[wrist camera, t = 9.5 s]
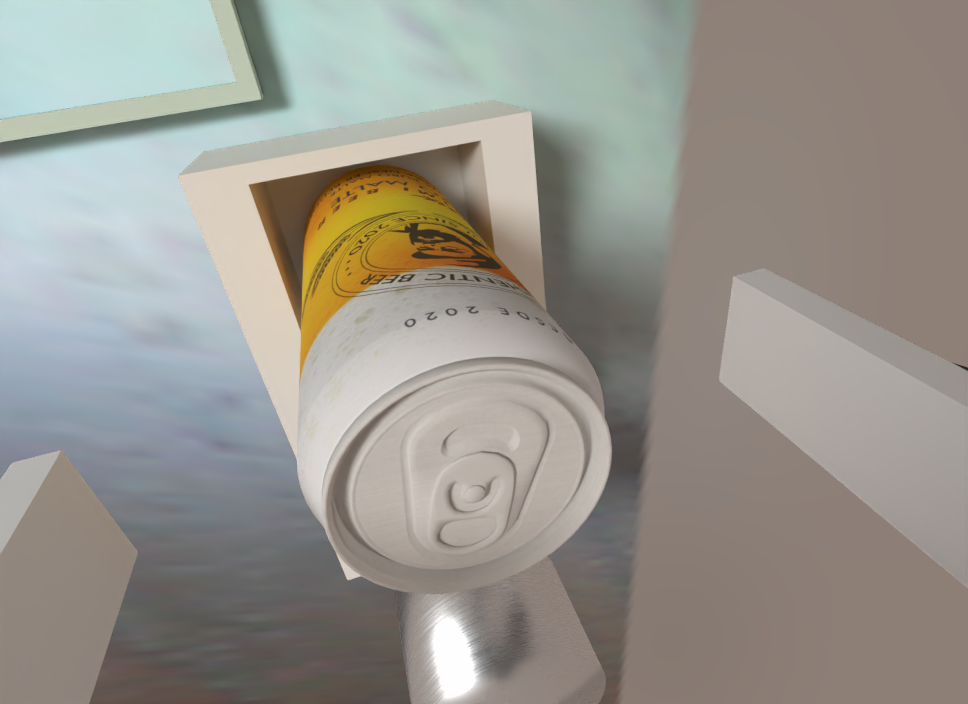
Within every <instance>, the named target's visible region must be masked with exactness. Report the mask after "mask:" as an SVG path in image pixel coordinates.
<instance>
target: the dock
mask: <svg viewBox="0 0 968 704" xmlns="http://www.w3.org/2000/svg"><path fill="white" fill-rule="evenodd" d="M374 165H389V166H395V167H400V168H404V169H407V170H409V171H412V172H414V173H416V174H418V175H420V176H422V177H424V178H425V179H426V180H428V181H429V182H431V183H432V184H433V185H434V186H435V187H436V188H437V189H438V190H439V191H440V192H441V193H442V194H443V196H444V197H445V198H446V199H447V200H448V201H449V202H450V203H451V205H452V206H453V207H454V208H455V209H456V210H457V211H458V212H459V214H460V215H461V216H462V217H463V218H464V219H465V220H466V221H467V223H468V224H469V225H470V226H471V227H472V228H473V229H474V230H475V232H476V233H477V234H478V235H479V236H480V237H481V238H482V239H483V241H484V242H485V243H486V244H487V245H488V246H489V247H490V248H491V250H492V251H493V252H494V253H495V254H496V255H497V256H498V257H499V259H500V260H501V261H502V262H503V263H504V264H505V265H506V266H507V268H508V269H509V270H510V271H511V272H512V273H513V274H514V275H515V277H516V278H517V279H518V280H519V281H520V282H521V283H522V284H523V286H524V287H525V288H526V289H527V290H528V291H529V292H530V293H531V295H532V296H533V297H534V298H535V299H536V300H537V301H538V302H539V304H540V305H541V306H542V307H543V308H544V309H545V310H546V300H545V287H544V273H543V260H542V247H541V234H540V221H539V207H538V194H537V181H536V168H535V154H534V141H533V128H532V115H531V111H529V110H525V109H522V108H518V107H514V106H511V105H507V104H503V103H500V102H496V101H486V102H480V103H475V104H469V105H463V106H458V107H452V108H446V109H441V110H435V111H429V112H424V113H418V114H413V115H407V116H401V117H396V118H390V119H384V120H379V121H373V122H367V123H362V124H356V125H350V126H345V127H339V128H333V129H328V130H322V131H317V132H311V133H305V134H300V135H294V136H288V137H283V138H277V139H271V140H266V141H260V142H254V143H249V144H243V145H237V146H232V147H226V148H221V149H215V150H209V151H204V152H203V153H202V154H200V155H199V156H198V157H197V158H196V159H195V160H194V161H193V162H192V163H191V164H190V165H189V166H188V167H187V168H185V169H184V170H183V171H182V172H181V173H180V174H179V175H178V178H179V180H180V183H181V185H182V188H183V190H184V192H185V195H186V197H187V199H188V202H189V204H190V207H191V209H192V211H193V214H194V216H195V218H196V221H197V223H198V226H199V228H200V230H201V233H202V235H203V237H204V240H205V242H206V245H207V247H208V249H209V252H210V254H211V257H212V259H213V261H214V264H215V266H216V268H217V271H218V273H219V276H220V278H221V280H222V283H223V285H224V287H225V290H226V292H227V295H228V297H229V299H230V302H231V304H232V306H233V309H234V311H235V314H236V316H237V318H238V321H239V323H240V325H241V328H242V330H243V333H244V335H245V337H246V340H247V342H248V345H249V347H250V349H251V352H252V354H253V356H254V359H255V361H256V364H257V366H258V368H259V371H260V373H261V375H262V378H263V380H264V383H265V385H266V387H267V390H268V392H269V394H270V397H271V399H272V402H273V404H274V406H275V409H276V411H277V413H278V416H279V418H280V421H281V423H282V425H283V428H284V430H285V433H286V435H287V437H288V440H289V442H290V444H291V447H292V449H293V452H294V454H295V456H296V459H297V443H298V411H299V379H300V347H301V315H302V283H303V251H304V231H305V225H306V220H307V217H308V214H309V212H310V209H311V207H312V205H313V203H314V202H315V200H316V199H317V197H318V196H319V194H320V193H321V192H322V191H323V190H324V189H325V188H326V187H327V186H328V185H329V184H330V183H331V182H333V181H334V180H335V179H337V178H338V177H340V176H341V175H343V174H345V173H347V172H349V171H352V170H355V169H358V168H362V167H366V166H374ZM336 554H337V553H336ZM337 556H338V559H339V561H340V563H341V566H342V568H343V570H344V573H345V575H346V578H347V580H350V579H353V578H356V577H359V576H361V575H359V574H358V573H356V572H355V571H353V570H352V569H351V568H350V567H349V566H348V565H347V564H346V563H345V562H344V561H343V560H342V559H341V558H340V557H339V555H338V554H337Z"/></svg>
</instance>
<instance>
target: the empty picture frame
mask: <svg viewBox="0 0 968 704" xmlns="http://www.w3.org/2000/svg"><path fill="white" fill-rule="evenodd" d="M210 3H211V6H212V9H213V12H214V15H215V18H216V21H217V24H218V27H219V30H220V33H221V36H222V39H223V42H224V45H225V48H226V51H227V54H228V57H229V60H230V63H231V66H232V69H233V72H234V75H235V78H236V81H237V82H233V83H227V84H221V85H214V86H208V87H202V88H195V89H189V90H183V91H176V92H170V93H163V94H157V95H151V96H144V97H138V98H132V99H125V100H119V101H113V102H106V103H100V104H94V105H87V106H81V107H75V108H68V109H62V110H55V111H49V112H43V113H36V114H30V115H24V116H17V117H11V118H5V119H0V142H5V141H11V140H17V139H23V138H29V137H36V136H42V135H48V134H54V133H60V132H66V131H72V130H78V129H84V128H90V127H97V126H103V125H109V124H115V123H121V122H127V121H133V120H139V119H145V118H151V117H157V116H164V115H170V114H176V113H182V112H188V111H194V110H200V109H206V108H212V107H218V106H225V105H231V104H237V103H243V102H249V101H255V100H261V99H263V98H264V96H263V93H262V90H261V87H260V84H259V80H258V77H257V74H256V71H255V68H254V64H253V61H252V58H251V55H250V52H249V48H248V45H247V42H246V39H245V36H244V33H243V29H242V26H241V23H240V20H239V17H238V13H237V10H236V7H235V4H234V1H233V0H210Z"/></svg>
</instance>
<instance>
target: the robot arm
mask: <svg viewBox="0 0 968 704" xmlns="http://www.w3.org/2000/svg"><path fill="white" fill-rule="evenodd" d="M719 381H720V382H721V383H722V384H723V385H725V386H726V387H727V388H728V389H729V390H731V391H732V392H733V393H734V394H735V395H736V396H738V397H739V398H740V399H741V400H742V401H744V402H745V403H746V404H747V405H749V406H750V407H751V408H752V409H753V410H755V411H756V412H757V413H758V414H759V415H761V416H762V417H763V418H764V419H765V420H766V421H768V422H769V423H770V424H771V425H772V426H774V427H775V428H776V429H778V430H779V431H780V432H781V433H782V434H783V435H785V436H786V437H787V438H788V439H789V440H791V441H792V442H793V443H794V444H795V445H797V446H798V447H799V448H800V449H801V450H802V451H804V452H805V453H806V454H807V455H808V456H810V457H811V458H812V459H813V460H814V461H816V462H817V463H818V464H819V465H820V466H822V467H823V468H824V469H825V470H826V471H828V472H829V473H830V474H831V475H832V476H834V477H835V478H836V479H837V480H838V481H840V482H841V483H842V484H843V485H845V486H846V487H847V488H848V489H849V490H850V491H852V492H853V493H854V494H855V495H857V496H858V497H859V498H860V499H861V500H862V501H864V502H865V503H866V504H867V505H869V506H870V507H871V508H872V509H873V510H874V511H876V512H877V513H878V514H879V515H880V516H882V517H883V518H884V519H885V520H887V521H888V522H889V523H890V524H891V525H892V526H894V527H895V528H896V529H897V530H899V531H900V532H901V533H902V534H903V535H905V536H906V537H907V538H908V539H909V540H911V541H912V542H913V543H914V544H915V545H916V546H918V547H919V548H920V549H921V550H922V551H924V552H925V553H926V554H927V555H928V556H930V557H931V558H932V559H933V560H934V561H936V562H937V563H938V564H939V565H940V566H942V567H943V568H945V570H946V571H948V572H949V573H950V574H951V575H953V576H954V577H955V578H956V579H957V580H958V581H960V582H961V583H962V584H963V585H964V586H966V587H967V588H968V368H967V367H964V366H961V365H957V364H954V363H951V362H949V361H947V360H945V359H943V358H941V357H939V356H937V355H935V354H933V353H931V352H929V351H927V350H925V349H923V348H921V347H919V346H917V345H915V344H913V343H911V342H909V341H907V340H905V339H904V338H902V337H900V336H898V335H896V334H894V333H892V332H890V331H888V330H886V329H884V328H882V327H880V326H878V325H876V324H874V323H872V322H870V321H868V320H866V319H864V318H862V317H860V316H858V315H856V314H854V313H852V312H850V311H848V310H846V309H844V308H842V307H840V306H838V305H836V304H834V303H832V302H830V301H828V300H826V299H824V298H822V297H820V296H818V295H816V294H814V293H812V292H811V291H809V290H807V289H805V288H803V287H800V286H799V285H797V284H795V283H793V282H791V281H789V280H787V279H785V278H783V277H781V276H779V275H777V274H775V273H773V272H771V271H769V270H767V269H765V268H763V269H759V270H755V271H752V272H748V273H744V274H740V275H737V276H734V277H733V283H732V290H731V297H730V304H729V311H728V318H727V325H726V332H725V339H724V346H723V353H722V360H721V367H720V374H719ZM137 554H138V552H137V550H136V549H135V547H134V546H133V545H132V543H131V542H130V541H129V539H128V538H127V537H126V535H125V534H124V533H123V531H122V530H121V529H120V527H119V526H118V525H117V523H116V522H115V521H114V519H113V518H112V517H111V515H110V514H109V513H108V511H107V510H106V509H105V507H104V506H103V505H102V503H101V502H100V501H99V499H98V498H97V497H96V495H95V494H94V493H93V491H92V490H91V489H90V487H89V486H88V485H87V483H86V482H85V481H84V479H83V478H82V477H81V475H80V474H79V472H78V471H77V470H76V468H75V467H74V466H73V464H72V463H71V462H70V460H69V459H68V458H67V456H66V455H65V454H64V452H63V451H62V450H60V451H56V452H52V453H48V454H44V455H40V456H37V457H33V458H29V459H25V460H21V461H17V462H13V463H12V464H11V465H10V467H9V468H8V469H7V471H6V472H5V474H4V475H3V477H2V478H1V480H0V704H89V702H90V699H91V696H92V693H93V690H94V687H95V684H96V681H97V678H98V675H99V672H100V668H101V665H102V662H103V659H104V656H105V653H106V650H107V647H108V644H109V641H110V638H111V634H112V631H113V628H114V625H115V622H116V619H117V616H118V613H119V610H120V607H121V604H122V600H123V597H124V594H125V591H126V588H127V585H128V582H129V579H130V576H131V573H132V569H133V566H134V563H135V560H136V557H137Z"/></svg>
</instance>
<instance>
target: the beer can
mask: <svg viewBox="0 0 968 704" xmlns="http://www.w3.org/2000/svg"><path fill="white" fill-rule="evenodd" d="M611 462H612V442H611V435H610V431H609V427H608V424H607V422H606V419H605V413H604V401H603V394H602V390H601V386H600V382H599V380H598V377H597V375H596V372H595V370H594V368H593V367H592V365H591V363H590V362H589V360H588V358H587V357H586V356H585V355H584V353H583V352H582V351H581V350H580V349H579V348H578V346H577V345H576V344H575V343H574V342H573V341H572V340H571V338H570V337H569V336H568V335H567V334H566V333H565V332H564V331H563V329H562V328H561V327H560V326H559V325H558V324H557V323H556V322H555V320H554V319H553V318H552V317H551V316H550V315H549V314H548V313H547V311H546V310H545V309H544V308H543V307H542V306H541V305H540V304H539V302H538V301H537V300H536V299H535V298H534V297H533V296H532V295H531V293H530V292H529V291H528V290H527V289H526V288H525V287H524V286H523V284H522V283H521V282H520V281H519V280H518V279H517V278H516V277H515V275H514V274H513V273H512V272H511V271H510V270H509V269H508V268H507V266H506V265H505V264H504V263H503V262H502V261H501V260H500V259H499V257H498V256H497V255H496V254H495V253H494V252H493V251H492V250H491V248H490V247H489V246H488V245H487V244H486V243H485V242H484V241H483V239H482V238H481V237H480V236H479V235H478V234H477V233H476V232H475V230H474V229H473V228H472V227H471V226H470V225H469V224H468V223H467V221H466V220H465V219H464V218H463V217H462V216H461V215H460V214H459V212H458V211H457V210H456V209H455V208H454V207H453V206H452V205H451V203H450V202H449V201H448V200H447V199H446V198H445V197H444V196H443V194H442V193H441V192H440V191H439V190H438V189H437V188H436V187H435V186H434V185H433V184H432V183H431V182H429V181H428V180H426V179H425V178H424V177H422V176H420V175H418V174H416V173H414V172H412V171H409V170H407V169H404V168H400V167H395V166H389V165H374V166H366V167H362V168H358V169H355V170H352V171H349V172H347V173H345V174H343V175H341V176H340V177H338V178H337V179H335V180H334V181H333V182H331V183H330V184H329V185H328V186H327V187H326V188H325V189H324V190H323V191H322V192H321V193H320V194H319V196H318V197H317V199H316V200H315V202H314V203H313V205H312V207H311V209H310V212H309V214H308V217H307V220H306V225H305V231H304V251H303V283H302V315H301V347H300V379H299V411H298V443H297V469H298V477H299V482H300V487H301V490H302V492H303V495H304V498H305V500H306V502H307V504H308V506H309V507H310V509H311V511H312V513H313V514H314V515H315V517H316V518H317V519H318V520H319V522H320V523H321V524H322V525H323V527H324V528H325V531H326V533H327V536H328V539H329V541H330V543H331V544H332V546H333V548H334V550H335V552H336V553H337V554H338V555H339V557H340V558H341V559H342V560H343V561H344V562H345V563H346V564H347V565H348V566H349V567H350V568H351V569H352V570H353V571H355V572H356V573H358V574H359V575H361V576H362V577H364V578H366V579H368V580H370V581H372V582H374V583H376V584H378V585H381V586H384V587H387V588H390V589H394V590H398V591H402V592H409V593H417V594H447V593H455V592H462V591H467V590H472V589H477V588H480V587H484V586H488V585H491V584H494V583H497V582H499V581H502V580H505V579H507V578H509V577H512V576H514V575H516V574H518V573H520V572H522V571H524V570H526V569H528V568H530V567H532V566H533V565H535V564H537V563H538V562H540V561H541V560H543V559H544V558H546V557H547V556H549V555H550V554H551V553H553V552H554V551H556V550H557V549H558V548H559V547H560V546H561V545H563V544H564V543H565V542H566V541H567V540H568V539H569V538H570V537H571V536H572V535H573V534H574V533H575V532H576V531H577V530H578V529H579V528H580V527H581V525H582V524H583V523H584V522H585V521H586V519H587V518H588V517H589V515H590V514H591V512H592V511H593V510H594V508H595V506H596V504H597V503H598V501H599V499H600V497H601V495H602V493H603V491H604V488H605V486H606V483H607V480H608V477H609V473H610V468H611Z"/></svg>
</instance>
